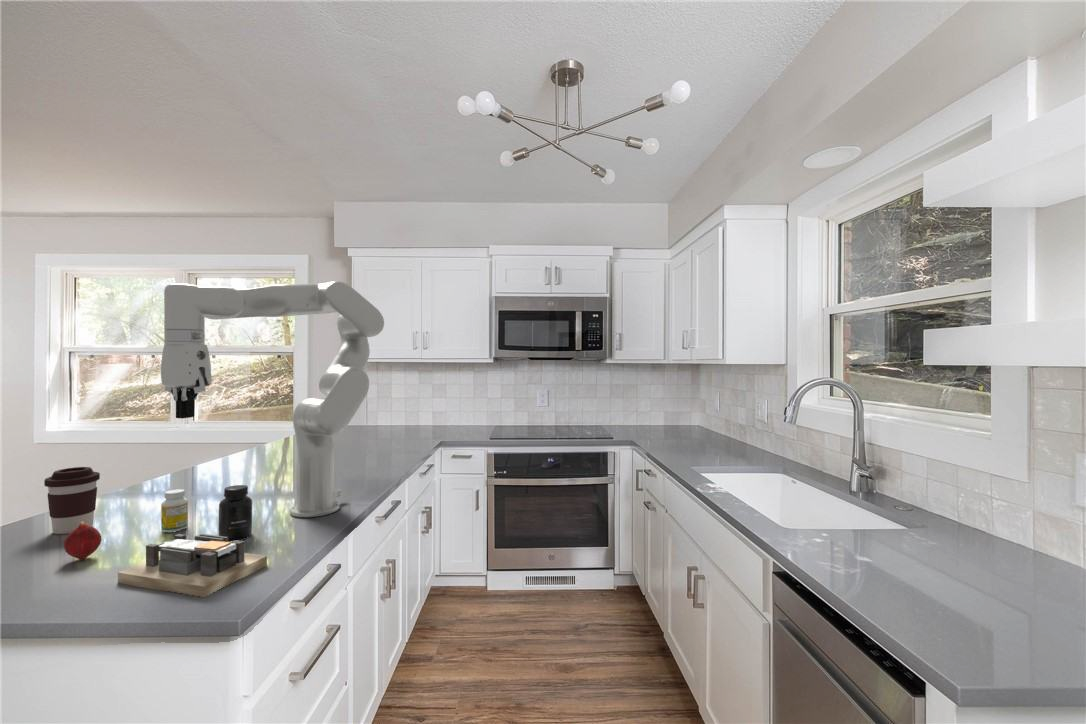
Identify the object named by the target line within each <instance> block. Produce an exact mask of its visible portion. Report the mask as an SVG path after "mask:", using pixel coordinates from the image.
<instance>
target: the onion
mask: <svg viewBox="0 0 1086 724" xmlns="http://www.w3.org/2000/svg"><path fill="white" fill-rule="evenodd" d="M64 539H65V540H64V541H63V547H64V552H65V553H66V554H67V555H68V556H70V557H73V558H74V559H78V560H81V561H82V560H85V559H87V558H89V556H91V555H92V554H93V553H95V552H96V551H97V549H98V548H99V546H101V543H102V535H101V533H100V531H99V530H98V529H97V528H95V527H94V526H88V525H87V524H86V522H83V521H82V522H81V523H80V525H79V527H78V528H76V529H75V530H73V531H72V532H71V533H70V534H67V536H66V538H64Z"/></svg>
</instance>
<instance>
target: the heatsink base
mask: <svg viewBox="0 0 1086 724" xmlns="http://www.w3.org/2000/svg"><path fill="white" fill-rule="evenodd" d="M173 539H183V540H187V534H181V533H178V534H175V535H174V536H173ZM194 540H195V541H208V542H209V541H221V542H228V537H223V536H219V535H214V534H208V533H207V534H206V533H200V534H199V535H198V534H197V535H195V536H194ZM231 543H233V544H236V549H235V550H232V551H230V552H228V553H225V554H223V555H221V556H219V557H216V553H211V552H205V553H203V554H201V555H196V550H192V549H185V548H178V547H171V546H167V547H165V548H162V549H160V551H159V544H157V543H149V544H147V545H145V561H143V562H142V563H139V564H136V565H133V566H132V567H128V568H126V569H123V570H121V571H118V572H117V583H118V584H122V585H128V586H133V587H139V588H145V589H152V590H158V591H162V590H163V591H165V592H168V591H171V592H170V593H174V592H177V593H176V594H180V593H183V594H182V595H186V594H188V595H187V596H192V595H194V596H193V597H198V596H200V597H199V598H206V597H208V596H210V595H212V594H214V593H216V592H218V591H220V590H222V589H223V587H224V588H226V587H228V586H229V584H230V585H231V583H232V584H233V582H234V583H235V581H236V582H237V580H238V581H239V579H240V580H242V579H244V578H246V577H247V576H249V575H251V574H253V573H256V572H257V571H259V570H261V569H263V568H265V567H267V566H268V558H267V557H268V556H267V555H262V554H255V553H247V552H245V541H244V540H239V541H237V540H234V541H232V542H231ZM159 553H160V554H159ZM241 578H242V579H241ZM227 585H228V586H227ZM225 586H226V587H225ZM221 588H222V589H221ZM219 589H220V590H219ZM217 590H218V591H217ZM213 592H214V593H213ZM207 595H208V596H207Z"/></svg>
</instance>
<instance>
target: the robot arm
mask: <svg viewBox="0 0 1086 724" xmlns="http://www.w3.org/2000/svg"><path fill="white" fill-rule="evenodd" d="M163 295H164V296H163V298H164V300H163V301H164V302H163V303H164V306H163V308H164V310H163V311H164V318H163V319H164V321H163V322H164V323H163V325H164V326H163V327H164V332H163V333H164V334H163V335H164V336H163V338H164V341H163V342H164V344H163V350H162V355H161V363H160V364H161V365H160V380H161V385H162V386H165V387H164V391H165V392H167V393H171V394H172V396H173V401H174V402H175V418H176V419H189V418H194V417H195V401H196V400H197V398H198V395H199V394H202V393H204V392H206V387H210V385H211V384H212V366H211V357H210V353H209V347H208V344H206V343H205V342H206V341H205V340H206V339H205V337H206V335H205V328H206V327H205V321H206V320H205V319H206V318H207V319H209V320H214V321H215V320H227V319H228V320H229V319H241V318H242V319H244V318H256V317H257V318H260V317H261V318H263V317H264V318H278V317H279V318H281V317H291V316H292V317H294V316H306V315H307V316H308V315H310V316H311V315H321V314H322V315H323V314H331V313H338V314H339V316H338V318H337V322H336V325H337V330H338V333H339V335H340V341H341V342H340V348H339V349H338V352H337V354H336V355H335V356H334V358H333V359H332V361H331V363H330V364H329V365H328V367H327V368H326V369H325V371H324V372H323V374H322V375H321V377H320V379H319V382H318V389H319V391H320V392H321V394H322V395H323V396H325V398H323V397H322V398H320V397H309V398H305V399H304V400H302V401H300V402H299V403H298V404H297V405H295V406H296V407H295V408H294V411H293V416H292V422H293V429H294V434H295V445H296V447H295V449H296V450H295V453H296V455H295V456H296V457H295V462H296V463H295V464H296V465H295V472H296V473H295V474H296V475H295V481H296V484H295V485H296V486H295V487H296V489H295V495H296V496H295V497H296V498H295V499H296V500H295V501H296V504H294V506H292V507H291V508H290V509H289V514H290V515H291V516H292V517H296V518H314V517H315V518H316V517H317V518H318V517H323V516H326V515H330V514H332V513H336V512H337V511H338V510H339V509H340V503H339V502H338V501H336V499H337V498H339V497H341V496H343V495H344V490H343V489H342V488H339V489H337V490H335V489H334V488H335V487H334V486H335V485H334V483H335V482H334V481H335V478H334V477H335V476H334V475H335V474H334V473H335V471H334V468H335V465H334V461H335V460H334V456H335V455H334V450H335V449H334V439H333V436H335V435H338V434H340V433H341V432H342V431H343V430H345V429H346V428H347V426H349V424H350V423H351V421H352V420H353V418H354V416H355V414H356V413H357V411H358V410H359V409H360V407H361V405H362V403H363V402H364V400H365V399H366V397H367V395H368V391H369V389H370V379H369V377H368V374H367V372H365V370H364V368H365V366H366V365H367V363H368V361H369V357H370V352H371V351H370V344H369V340H368V338H373V337H376V336H378V335H379V334H381V332H382V331H383V330H384V326H385V319H384V316H383V314H382V312H381V311H380V310H379V309H378V308H377V307H375V305H373V304H372V303H371V302H370V301H369V300H367V299H366V298H365V297H364V296H363V295H361V294H360V293H359V292H358V291H357V290H355V288H353V287H352V286H350V285H348V283H345V282H344V281H343V282H342V281H338V280H335V281H329V282H321V283H317V282H316V283H280V284H279V283H278V284H270V285H264V286H259V287H252V288H237V289H236V288H234V287H231V286H200V285H195V284H189V283H170V284H169V283H168V284H167V285H166V286H165V287H164V293H163Z"/></svg>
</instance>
